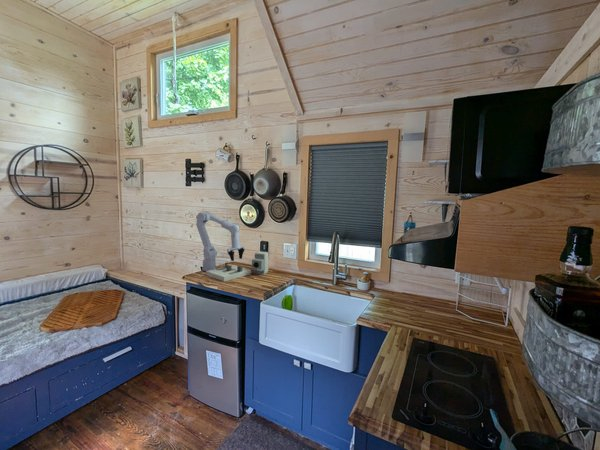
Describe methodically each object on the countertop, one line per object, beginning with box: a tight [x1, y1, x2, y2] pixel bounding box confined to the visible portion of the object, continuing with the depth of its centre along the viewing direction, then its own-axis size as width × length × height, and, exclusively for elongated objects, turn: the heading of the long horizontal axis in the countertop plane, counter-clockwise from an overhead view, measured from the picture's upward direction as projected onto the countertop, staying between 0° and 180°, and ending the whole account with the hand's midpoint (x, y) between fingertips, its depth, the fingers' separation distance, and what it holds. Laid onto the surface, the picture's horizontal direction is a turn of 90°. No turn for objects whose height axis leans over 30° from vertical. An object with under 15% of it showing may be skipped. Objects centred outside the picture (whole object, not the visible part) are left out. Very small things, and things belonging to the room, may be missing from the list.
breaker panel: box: [205, 262, 252, 282], centre depth 205 cm, size 20×24×7 cm
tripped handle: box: [227, 263, 233, 271], centre depth 205 cm, size 3×2×4 cm, turn 52°
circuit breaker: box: [251, 250, 270, 275], centre depth 210 cm, size 8×14×15 cm, turn 163°
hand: (236, 259), depth 210 cm, fingers open, 7 cm apart
